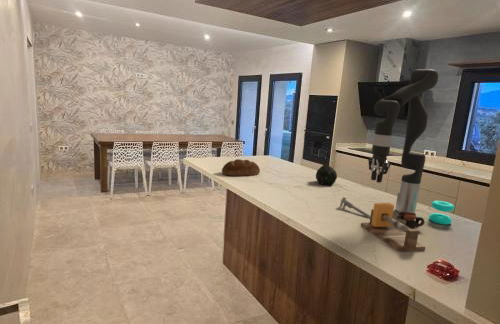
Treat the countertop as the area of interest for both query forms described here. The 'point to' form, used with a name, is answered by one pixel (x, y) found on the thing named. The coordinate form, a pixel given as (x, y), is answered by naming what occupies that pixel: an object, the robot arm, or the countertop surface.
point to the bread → (240, 168)
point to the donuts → (441, 217)
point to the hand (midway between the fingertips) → (376, 180)
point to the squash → (326, 175)
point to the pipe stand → (395, 234)
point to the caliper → (352, 207)
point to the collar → (377, 213)
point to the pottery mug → (411, 219)
